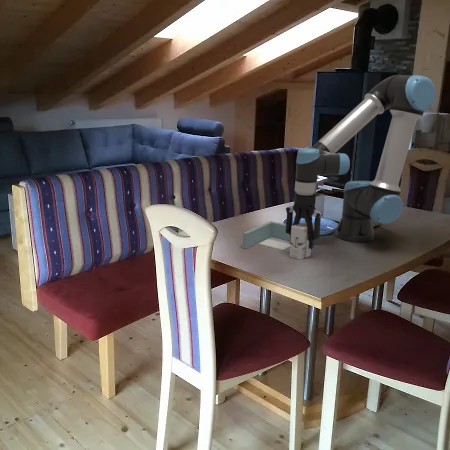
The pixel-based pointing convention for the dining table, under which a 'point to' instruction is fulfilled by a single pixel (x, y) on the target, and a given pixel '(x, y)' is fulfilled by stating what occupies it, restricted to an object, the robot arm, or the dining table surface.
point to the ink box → (299, 240)
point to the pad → (275, 244)
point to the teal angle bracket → (265, 233)
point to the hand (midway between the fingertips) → (300, 254)
